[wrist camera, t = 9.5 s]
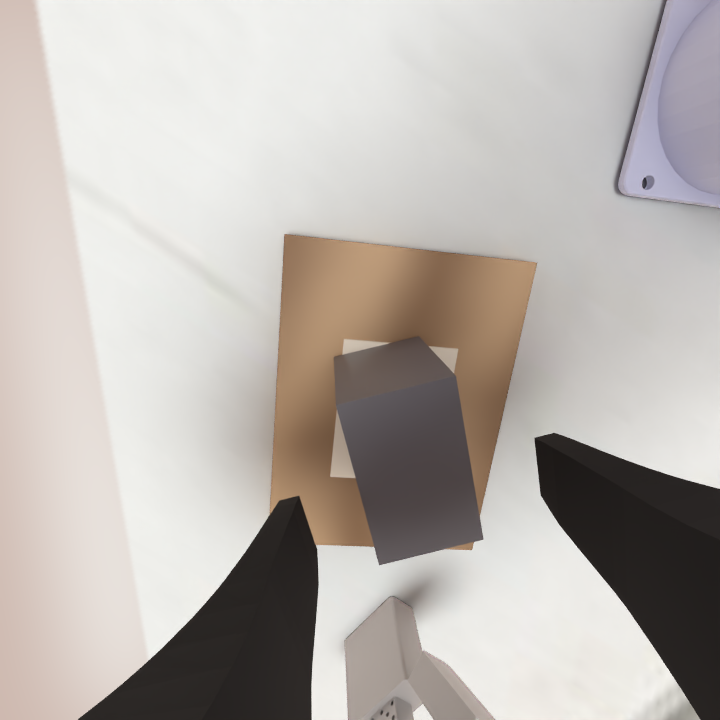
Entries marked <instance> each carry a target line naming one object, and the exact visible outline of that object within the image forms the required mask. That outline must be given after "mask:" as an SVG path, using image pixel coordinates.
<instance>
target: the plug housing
mask: <svg viewBox="0 0 720 720" xmlns="http://www.w3.org/2000/svg"><path fill="white" fill-rule="evenodd" d="M334 375H335V398H336V408H337V411H338V415H339V419H340V422H341V426H342V430H343V434H344V437H345V441H346V445H347V448H348V452H349V456H350V459H351V463H352V467H353V470H354V474H355V478H356V481H357V485H358V489H359V492H360V496H361V500H362V503H363V507H364V511H365V514H366V518H367V522H368V525H369V529H370V533H371V537H372V540H373V544H374V548H375V551H376V555H377V559H378V562H379V565H382V564H386V563H390V562H394V561H398V560H402V559H406V558H410V557H414V556H418V555H423V554H427V553H431V552H435V551H439V550H443V549H447V548H451V547H455V546H459V545H463V544H467V543H471V542H475V541H479V540H483V534H482V528H481V522H480V516H479V510H478V504H477V498H476V492H475V486H474V480H473V474H472V468H471V462H470V456H469V450H468V445H467V439H466V433H465V427H464V421H463V415H462V409H461V403H460V397H459V391H458V385H457V379H456V375H455V374H454V373H453V372H452V371H451V370H450V369H449V368H448V367H447V366H446V365H445V363H444V362H443V361H442V360H441V359H440V358H439V357H438V356H437V355H436V354H435V353H434V352H433V351H432V350H431V348H430V347H429V346H428V345H427V344H426V343H425V342H424V341H423V340H422V339H421V338H420V337H419V336H417V337H413V338H409V339H405V340H401V341H397V342H393V343H389V344H385V345H380V346H376V347H372V348H368V349H364V350H360V351H356V352H352V353H348V354H344V355H339V356H335V357H334Z"/></svg>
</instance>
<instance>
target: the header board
mask: <svg viewBox="0 0 720 720" xmlns="http://www.w3.org/2000/svg"><path fill="white" fill-rule="evenodd" d="M536 265H537V263H535V262H526V261H517V260H508V259H499V258H491V257H482V256H473V255H464V254H455V253H446V252H438V251H429V250H420V249H411V248H402V247H393V246H384V245H376V244H367V243H358V242H349V241H340V240H331V239H323V238H314V237H305V236H296V235H287V234H285V236H284V255H283V274H282V293H281V312H280V331H279V349H278V368H277V387H276V406H275V425H274V444H273V463H272V482H271V501H270V514H271V512H272V511H273V509H274V508H275V506H276V505H277V503H278V502H279V500H283V499H287V498H291V497H295V496H299V497H300V500H301V503H302V506H303V509H304V512H305V515H306V518H307V521H308V524H309V527H310V530H311V533H312V536H313V539H314V542H315V545H341V546H370V547H374V544H373V540H372V537H371V533H370V529H369V525H368V522H367V518H366V514H365V511H364V507H363V503H362V500H361V496H360V492H359V489H358V485H357V481H356V478H355V474H354V470H353V467H352V463H351V459H350V456H349V452H348V448H347V445H346V441H345V437H344V434H343V430H342V426H341V422H340V419H339V415H338V411H337V408H336V398H335V375H334V357H335V356H339V355H344V354H348V353H352V352H356V351H360V350H364V349H368V348H372V347H376V346H380V345H385V344H389V343H393V342H397V341H401V340H405V339H409V338H413V337H417V336H419V337H420V338H421V339H422V340H423V341H424V342H425V343H426V344H427V345H428V346H429V347H430V348H431V350H432V351H433V352H434V353H435V354H436V355H437V356H438V357H439V358H440V359H441V360H442V361H443V362H444V363H445V365H446V366H447V367H448V368H449V369H450V370H451V371H452V372H453V373H454V374H455V375H456V379H457V385H458V391H459V397H460V403H461V409H462V415H463V421H464V427H465V433H466V439H467V445H468V450H469V456H470V462H471V468H472V474H473V480H474V486H475V492H476V498H477V504H478V510H479V516H480V513H481V508H482V504H483V499H484V495H485V491H486V486H487V482H488V477H489V473H490V468H491V464H492V460H493V455H494V451H495V446H496V442H497V438H498V433H499V429H500V424H501V420H502V416H503V411H504V407H505V402H506V398H507V393H508V389H509V385H510V380H511V376H512V371H513V367H514V363H515V358H516V354H517V349H518V345H519V340H520V336H521V332H522V327H523V323H524V318H525V314H526V310H527V305H528V301H529V296H530V292H531V287H532V283H533V279H534V274H535V270H536ZM473 544H474V542H471V543H467V544H463V545H459V546H455V547H451V548H447V549H456V550H472V548H473Z"/></svg>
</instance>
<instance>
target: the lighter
mask: <svg viewBox="0 0 720 720" xmlns="http://www.w3.org/2000/svg"><path fill="white" fill-rule="evenodd" d="M345 658H346V683H347V707H348V720H414V718H413V712H414V711H415V710H416V709H417V708H418V707H419V706H421V705H422V704H424V706H425V707H426V709H427V710H428V712H429V713H430V715H431V716H432V718H433V719H434V720H495V719H494V718H493V716H492V715H491V714H490V713H489V712H488V711H487V709H486V708H485V707H484V706H483V705H482V704H481V702H480V701H479V700H478V699H477V698H476V696H475V695H474V694H473V693H472V692H471V691H470V689H469V688H468V687H467V686H466V685H465V684H464V682H463V681H462V680H461V679H460V678H459V677H458V675H457V674H456V673H455V672H454V671H453V670H452V668H451V667H450V666H448V665H447V664H446V663H444V662H443V661H441V660H439V659H438V658H436V657H434V656H433V655H431V654H429V653H428V652H426V651H423V652H422V648H421V643H420V639H419V635H418V630H417V626H416V622H415V617H414V613H413V608H412V607H410V606H408V605H407V604H405V603H404V602H402V601H400V600H399V599H397V598H396V597H394V596H393V597H389V598H388V599H387V600H386V601H385V602H384V603H383V604H382V605H381V606H380V607H379V608H378V609H376V610H375V611H374V612H373V613H372V614H371V615H370V616H369V617H368V618H367V619H366V620H365V621H364V622H363V623H362V624H361V625H360V626H359V627H358V628H357V629H356V630H355V631H354V632H353V633H352V634H351V635H350V636H349V637H348V638H347V639H346V640H345Z"/></svg>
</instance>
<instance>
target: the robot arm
mask: <svg viewBox="0 0 720 720" xmlns="http://www.w3.org/2000/svg"><path fill="white" fill-rule="evenodd" d="M644 178H646V180H647V185H646V187H645V189H643V187H642V181H643V179H644ZM618 187H619V190H620V192H621V193H622V194H624V195H627V196H634V197H642V198H649V199H657V200H664V201H672V202H679V203H686V204H694V205H701V206H709V207H716V208H720V0H667V2H666V6H665V9H664V13H663V17H662V20H661V24H660V28H659V32H658V35H657V39H656V43H655V47H654V50H653V54H652V58H651V62H650V65H649V69H648V73H647V77H646V80H645V84H644V88H643V92H642V95H641V99H640V103H639V107H638V110H637V114H636V118H635V121H634V125H633V129H632V133H631V136H630V140H629V144H628V148H627V151H626V155H625V159H624V163H623V166H622V170H621V174H620V178H619V183H618ZM535 447H536V456H537V465H538V474H539V483H540V492H541V496H542V498H543V499H544V501H545V503H546V504H547V506H548V508H549V509H550V511H551V512H552V514H553V516H554V517H555V519H556V520H557V522H558V523H559V525H560V526H561V527H562V529H563V530H564V531H565V532H566V534H567V535H568V536H569V537H570V538H571V540H572V541H573V542H574V543H575V545H576V546H577V547H578V548H579V550H580V551H581V552H582V553H583V554H584V556H585V557H586V558H587V559H588V560H589V562H590V563H591V564H592V565H593V566H594V568H595V569H596V570H597V571H598V572H599V574H600V575H601V576H602V577H603V579H604V580H605V581H606V582H607V583H608V585H609V586H610V587H611V588H612V589H613V591H614V592H615V593H616V594H617V596H618V597H619V598H620V600H621V601H622V602H623V604H624V605H625V606H626V607H627V609H628V610H629V612H630V613H631V615H632V616H633V617H634V619H635V620H636V622H637V623H638V625H639V626H640V628H641V629H642V631H643V632H644V634H645V635H646V636H647V638H648V639H649V641H650V642H651V644H652V645H653V647H654V648H655V650H656V651H657V653H658V654H659V656H660V657H661V659H662V660H663V662H664V663H665V665H666V666H667V668H668V669H669V671H670V673H671V674H672V676H673V677H674V679H675V680H676V682H677V683H678V685H679V686H680V688H681V689H682V691H683V692H684V694H685V696H686V697H687V699H688V700H689V702H690V704H691V705H692V707H693V708H694V710H695V711H696V713H697V715H698V716H699V718H700V719H701V720H720V489H717V488H713V487H710V486H706V485H702V484H699V483H695V482H691V481H687V480H684V479H680V478H677V477H674V476H670V475H667V474H664V473H661V472H658V471H655V470H652V469H649V468H646V467H643V466H640V465H637V464H635V463H632V462H629V461H626V460H624V459H621V458H618V457H616V456H613V455H611V454H608V453H605V452H603V451H600V450H598V449H595V448H593V447H590V446H588V445H585V444H583V443H580V442H578V441H575V440H573V439H570V438H567V437H565V436H562V435H559V434H556V433H552V434H548V435H544V436H540V437H536V438H535ZM317 598H318V557H317V548H316V545H315V542H314V539H313V536H312V533H311V530H310V527H309V524H308V521H307V518H306V515H305V512H304V509H303V506H302V503H301V500H300V497H299V496H295V497H291V498H287V499H283V500H279V502H278V503H277V505H276V506H275V508H274V509H273V511H272V512H271V514H270V515H269V517H268V519H267V520H266V522H265V523H264V525H263V526H262V528H261V529H260V531H259V533H258V534H257V536H256V537H255V539H254V540H253V542H252V543H251V545H250V546H249V548H248V549H247V551H246V552H245V553H244V555H243V556H242V558H241V559H240V560H239V562H238V563H237V564H236V566H235V567H234V568H233V570H232V571H231V572H230V574H229V575H228V576H227V578H226V579H225V580H224V582H223V583H222V584H221V585H220V587H219V588H218V589H217V590H216V592H215V593H214V594H213V595H212V596H211V597H210V599H209V600H208V601H207V602H206V603H205V604H204V605H203V607H202V608H201V609H200V610H199V611H198V612H197V613H196V614H195V615H194V617H193V618H192V619H191V620H190V621H189V622H188V623H187V624H186V625H185V626H184V627H183V628H182V629H181V630H180V631H179V632H178V633H177V634H176V635H175V636H174V637H173V638H172V639H171V640H170V641H169V642H168V643H167V644H166V645H165V646H164V647H163V648H162V649H161V650H160V651H159V652H158V653H157V654H155V655H154V656H153V657H152V658H151V659H150V660H149V661H148V662H147V663H146V664H145V665H144V666H142V667H141V668H140V669H139V670H138V671H137V672H136V673H134V674H133V675H132V676H131V677H130V678H129V679H128V680H126V681H125V682H124V683H123V684H122V685H121V686H119V687H118V688H117V689H116V690H114V691H113V692H112V693H111V694H110V695H108V696H107V697H106V698H105V699H104V700H102V701H101V702H100V703H98V704H97V705H96V706H95V707H93V708H92V709H91V710H89V711H88V712H87V713H85V714H84V715H83V716H82V717H80V718H79V719H78V720H311V680H312V661H313V649H314V636H315V624H316V612H317Z"/></svg>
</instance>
